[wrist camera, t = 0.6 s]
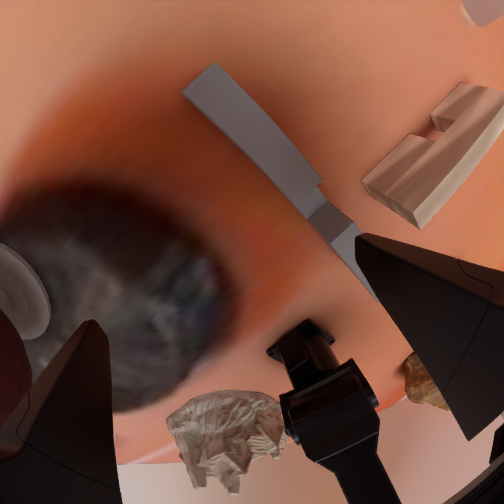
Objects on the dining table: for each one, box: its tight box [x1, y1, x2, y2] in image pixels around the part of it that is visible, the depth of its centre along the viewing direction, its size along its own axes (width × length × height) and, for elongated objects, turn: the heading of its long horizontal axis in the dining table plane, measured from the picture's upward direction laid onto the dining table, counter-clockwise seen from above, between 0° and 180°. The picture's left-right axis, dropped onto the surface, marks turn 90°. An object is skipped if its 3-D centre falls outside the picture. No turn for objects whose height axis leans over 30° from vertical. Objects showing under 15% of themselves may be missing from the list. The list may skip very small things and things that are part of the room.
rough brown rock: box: [405, 353, 450, 411], centre depth 40 cm, size 23×17×15 cm
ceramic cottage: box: [166, 390, 289, 495], centre depth 33 cm, size 16×16×15 cm
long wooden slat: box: [361, 83, 504, 230], centre depth 19 cm, size 2×18×7 cm, turn 132°
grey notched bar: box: [182, 62, 379, 302], centre depth 18 cm, size 20×2×7 cm, turn 42°
